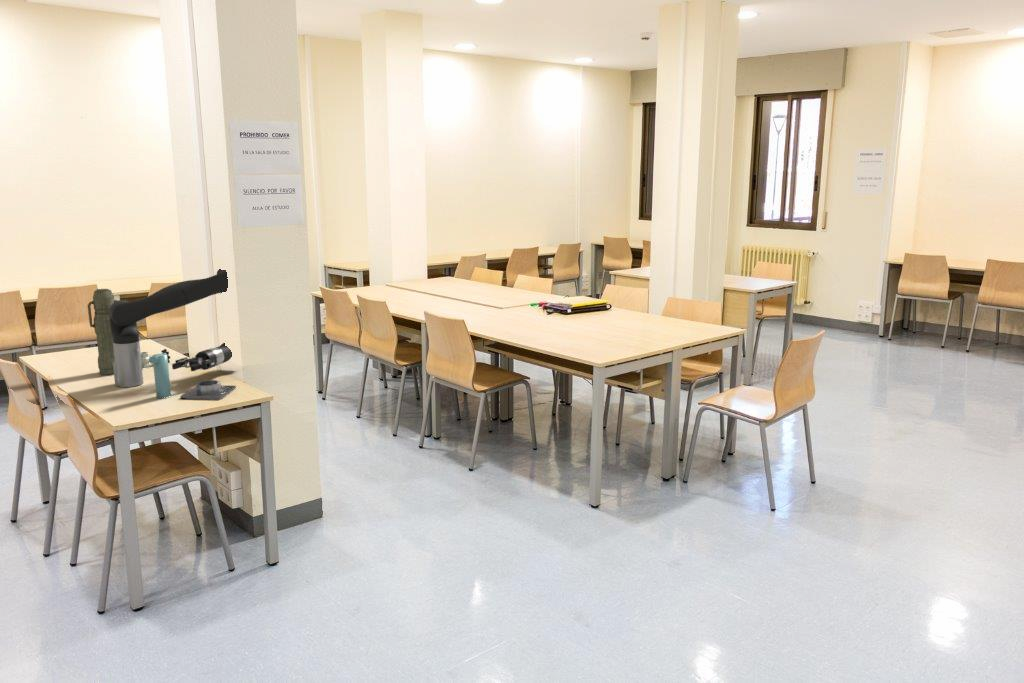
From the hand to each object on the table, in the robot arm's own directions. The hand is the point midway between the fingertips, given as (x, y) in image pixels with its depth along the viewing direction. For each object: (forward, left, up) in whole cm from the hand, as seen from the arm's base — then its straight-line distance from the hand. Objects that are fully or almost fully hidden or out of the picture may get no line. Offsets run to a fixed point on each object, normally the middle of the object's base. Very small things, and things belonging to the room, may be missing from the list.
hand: (182, 367), depth 298 cm
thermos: (-41, +22, -9) cm, 47 cm away
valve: (-29, +35, -9) cm, 46 cm away
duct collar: (+12, -6, -8) cm, 16 cm away
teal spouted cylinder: (-3, -11, -8) cm, 14 cm away
